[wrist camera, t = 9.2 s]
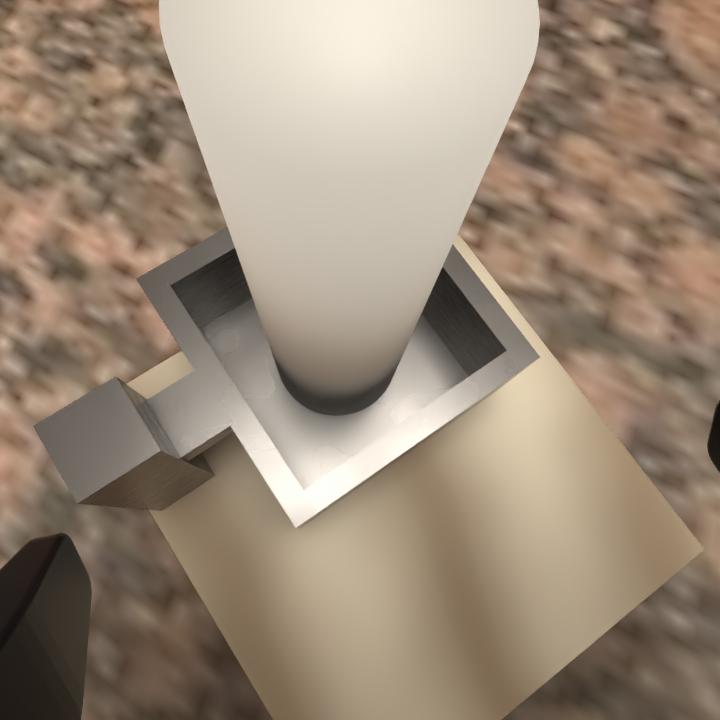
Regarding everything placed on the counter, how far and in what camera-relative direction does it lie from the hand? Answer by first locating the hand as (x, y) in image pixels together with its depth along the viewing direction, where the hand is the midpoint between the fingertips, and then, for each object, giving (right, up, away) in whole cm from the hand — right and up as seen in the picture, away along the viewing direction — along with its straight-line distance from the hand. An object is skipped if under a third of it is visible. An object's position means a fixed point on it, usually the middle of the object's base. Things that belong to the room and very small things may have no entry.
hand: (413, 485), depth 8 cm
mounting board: (0, -2, +11) cm, 11 cm away
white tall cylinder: (-1, +2, +10) cm, 10 cm away
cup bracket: (-3, +1, +11) cm, 11 cm away
